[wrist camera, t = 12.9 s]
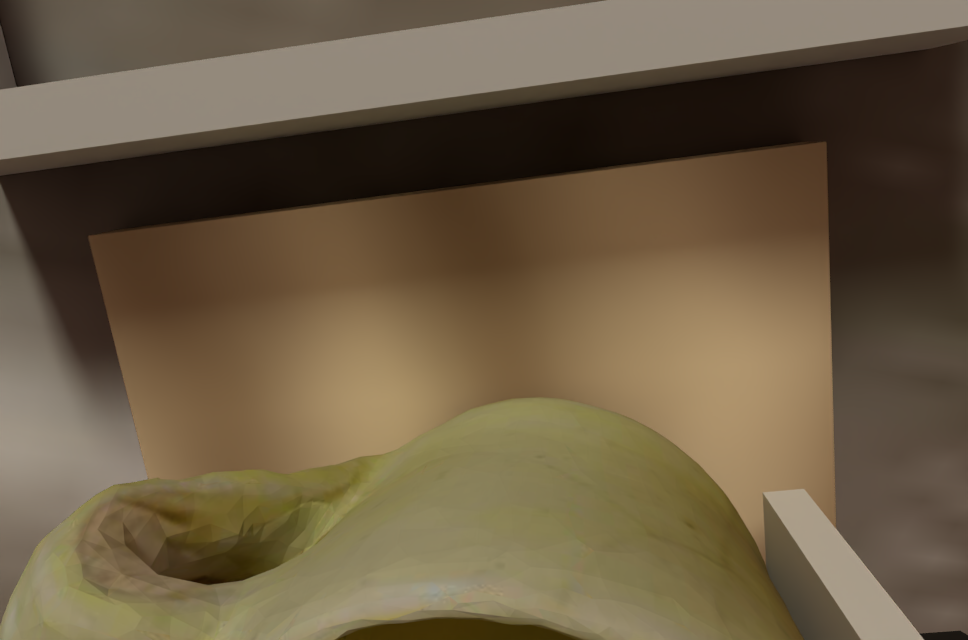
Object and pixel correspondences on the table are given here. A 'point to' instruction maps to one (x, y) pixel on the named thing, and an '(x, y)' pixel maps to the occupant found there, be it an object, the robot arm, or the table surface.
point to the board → (494, 318)
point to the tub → (446, 72)
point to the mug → (418, 545)
